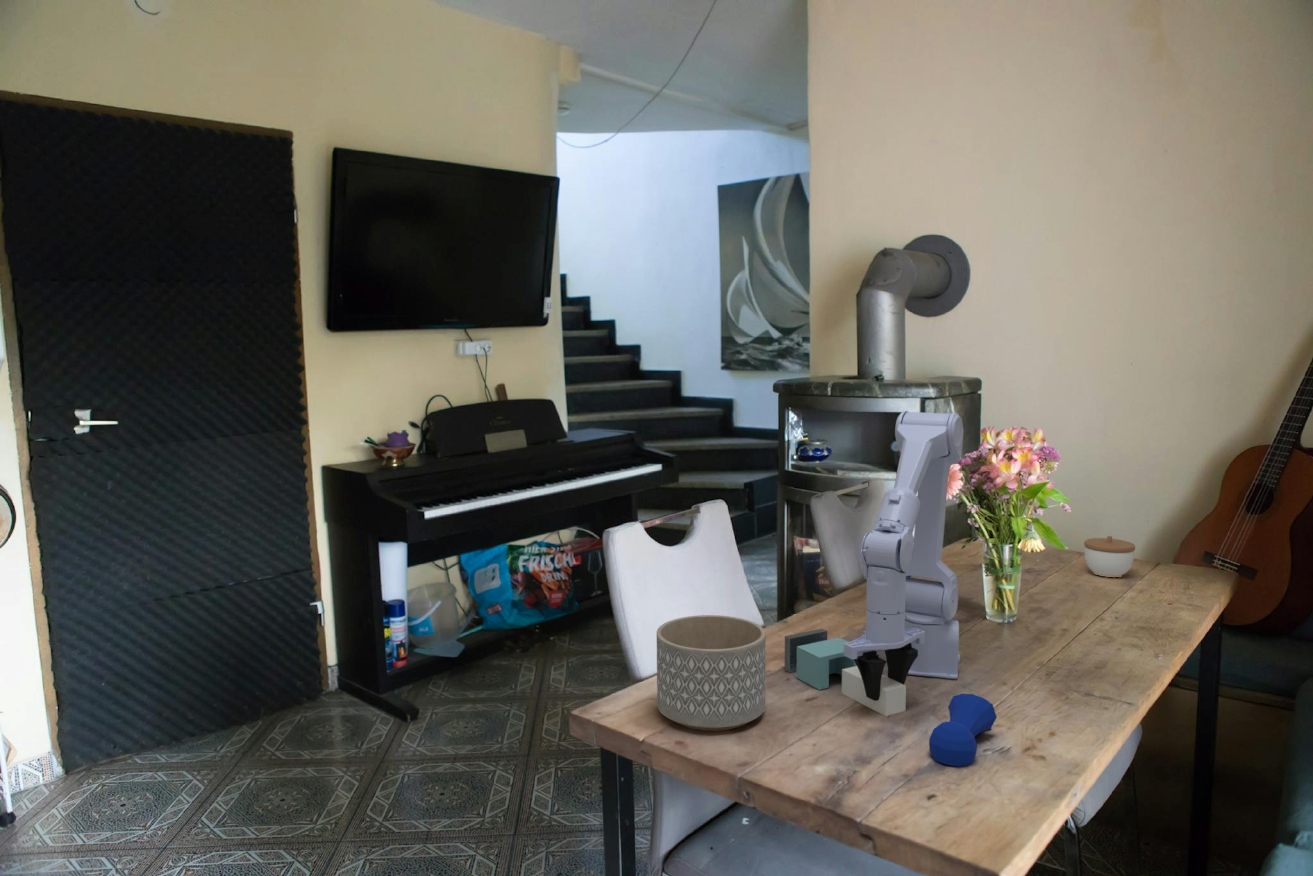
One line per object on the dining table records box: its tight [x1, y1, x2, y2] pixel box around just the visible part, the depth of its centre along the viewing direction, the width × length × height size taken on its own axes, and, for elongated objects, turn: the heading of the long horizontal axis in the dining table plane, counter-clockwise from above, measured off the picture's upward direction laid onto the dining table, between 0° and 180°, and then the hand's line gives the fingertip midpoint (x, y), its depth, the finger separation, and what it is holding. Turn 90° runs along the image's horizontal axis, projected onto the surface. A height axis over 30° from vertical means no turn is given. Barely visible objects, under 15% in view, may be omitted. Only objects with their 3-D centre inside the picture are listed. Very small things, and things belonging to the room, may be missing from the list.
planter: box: [656, 614, 767, 732], centre depth 135 cm, size 16×16×13 cm
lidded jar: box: [1083, 535, 1136, 575], centre depth 210 cm, size 11×11×9 cm
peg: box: [841, 666, 907, 717], centre depth 138 cm, size 10×4×4 cm, turn 28°
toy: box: [928, 693, 997, 768], centre depth 123 cm, size 7×6×15 cm
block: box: [796, 637, 857, 691], centre depth 148 cm, size 6×9×5 cm, turn 118°
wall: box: [784, 628, 828, 674], centre depth 153 cm, size 2×8×6 cm, turn 118°
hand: (883, 695), depth 136 cm, fingers closed on peg, 4 cm apart
